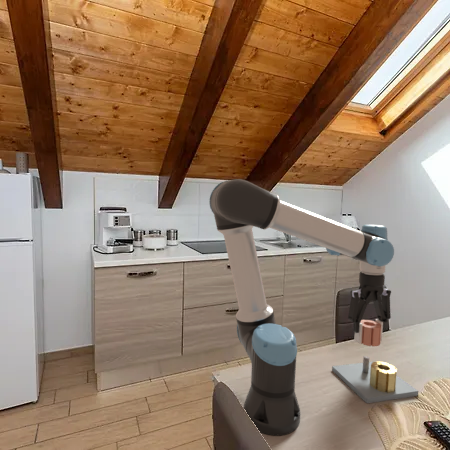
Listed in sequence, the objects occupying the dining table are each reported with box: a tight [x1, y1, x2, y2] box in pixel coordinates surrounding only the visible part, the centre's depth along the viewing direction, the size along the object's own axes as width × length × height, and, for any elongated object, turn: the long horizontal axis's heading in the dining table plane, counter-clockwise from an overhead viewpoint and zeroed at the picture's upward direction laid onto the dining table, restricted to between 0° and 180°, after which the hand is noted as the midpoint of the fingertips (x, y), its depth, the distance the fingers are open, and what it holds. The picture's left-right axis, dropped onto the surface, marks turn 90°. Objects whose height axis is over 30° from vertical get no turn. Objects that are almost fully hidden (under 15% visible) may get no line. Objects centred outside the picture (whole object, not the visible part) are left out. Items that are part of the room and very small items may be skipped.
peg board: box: [331, 355, 419, 404], centre depth 103 cm, size 18×18×6 cm
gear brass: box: [370, 360, 398, 393], centre depth 99 cm, size 7×7×6 cm
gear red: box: [360, 319, 382, 347], centre depth 105 cm, size 7×7×6 cm
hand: (368, 340), depth 106 cm, fingers closed on gear red, 7 cm apart
